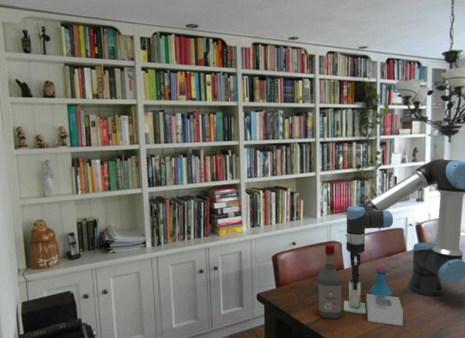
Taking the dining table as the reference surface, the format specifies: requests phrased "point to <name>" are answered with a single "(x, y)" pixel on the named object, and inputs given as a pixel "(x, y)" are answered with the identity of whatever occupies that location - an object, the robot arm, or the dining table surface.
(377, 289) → the perfume bottle
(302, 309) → the dining table surface
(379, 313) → the housing
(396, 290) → the dining table surface
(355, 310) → the mat
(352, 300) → the salt shaker
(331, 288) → the liquor
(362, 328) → the dining table surface
